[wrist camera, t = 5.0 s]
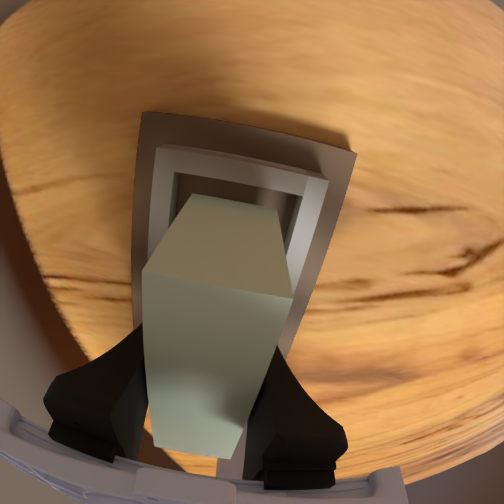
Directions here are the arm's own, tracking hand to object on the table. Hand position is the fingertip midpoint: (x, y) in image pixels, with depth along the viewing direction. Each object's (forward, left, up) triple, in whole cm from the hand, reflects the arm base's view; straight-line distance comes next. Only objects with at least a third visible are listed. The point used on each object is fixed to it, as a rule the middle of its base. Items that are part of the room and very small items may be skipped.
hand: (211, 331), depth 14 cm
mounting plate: (0, 0, -5) cm, 5 cm away
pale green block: (0, 0, -3) cm, 3 cm away
